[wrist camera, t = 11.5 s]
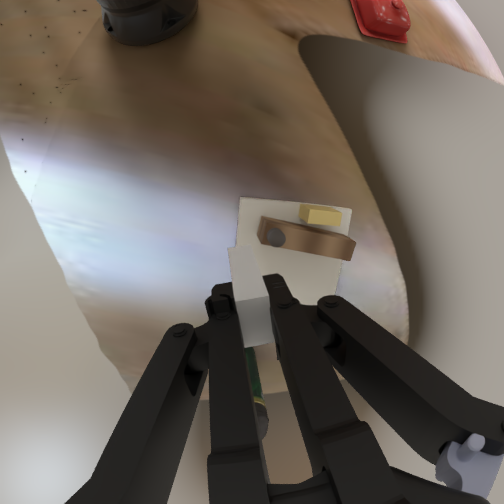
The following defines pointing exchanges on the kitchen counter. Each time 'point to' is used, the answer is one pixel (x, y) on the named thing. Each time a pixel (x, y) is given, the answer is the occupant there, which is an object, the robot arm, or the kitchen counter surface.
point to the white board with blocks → (290, 261)
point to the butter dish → (382, 19)
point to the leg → (304, 238)
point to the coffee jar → (257, 392)
